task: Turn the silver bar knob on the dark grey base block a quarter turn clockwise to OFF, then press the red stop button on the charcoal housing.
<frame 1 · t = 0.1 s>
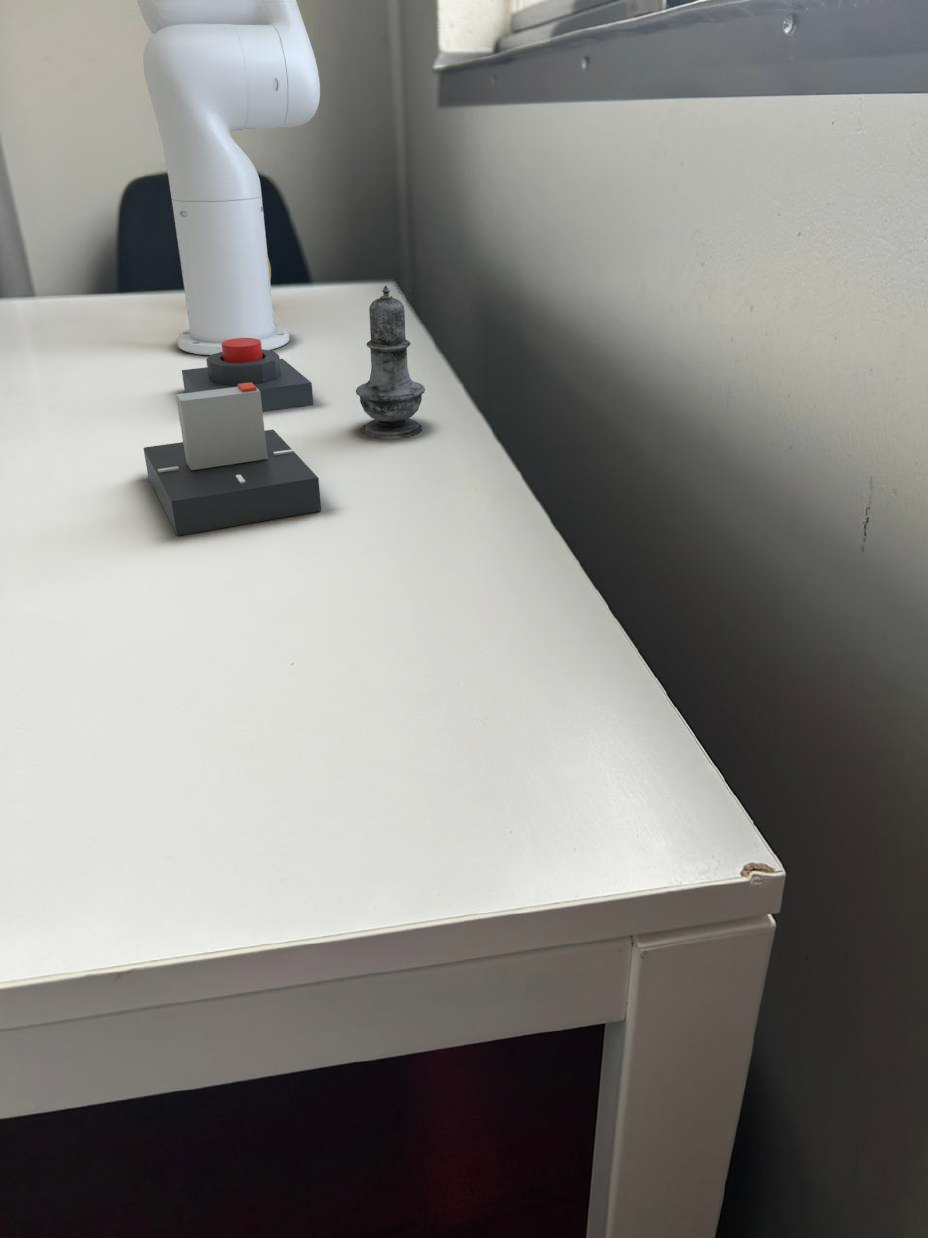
stress ball: (237, 310, 132), on the table
timer knob: (222, 425, 70), point 5 cm above the table, hinge at 90.0°
salt shaker: (392, 432, 85), on the table
stop button: (242, 351, 92), point 4 cm above the table, slide at 0.1 cm
stop housing: (247, 398, 94), on the table
dark grey base block: (231, 494, 72), on the table
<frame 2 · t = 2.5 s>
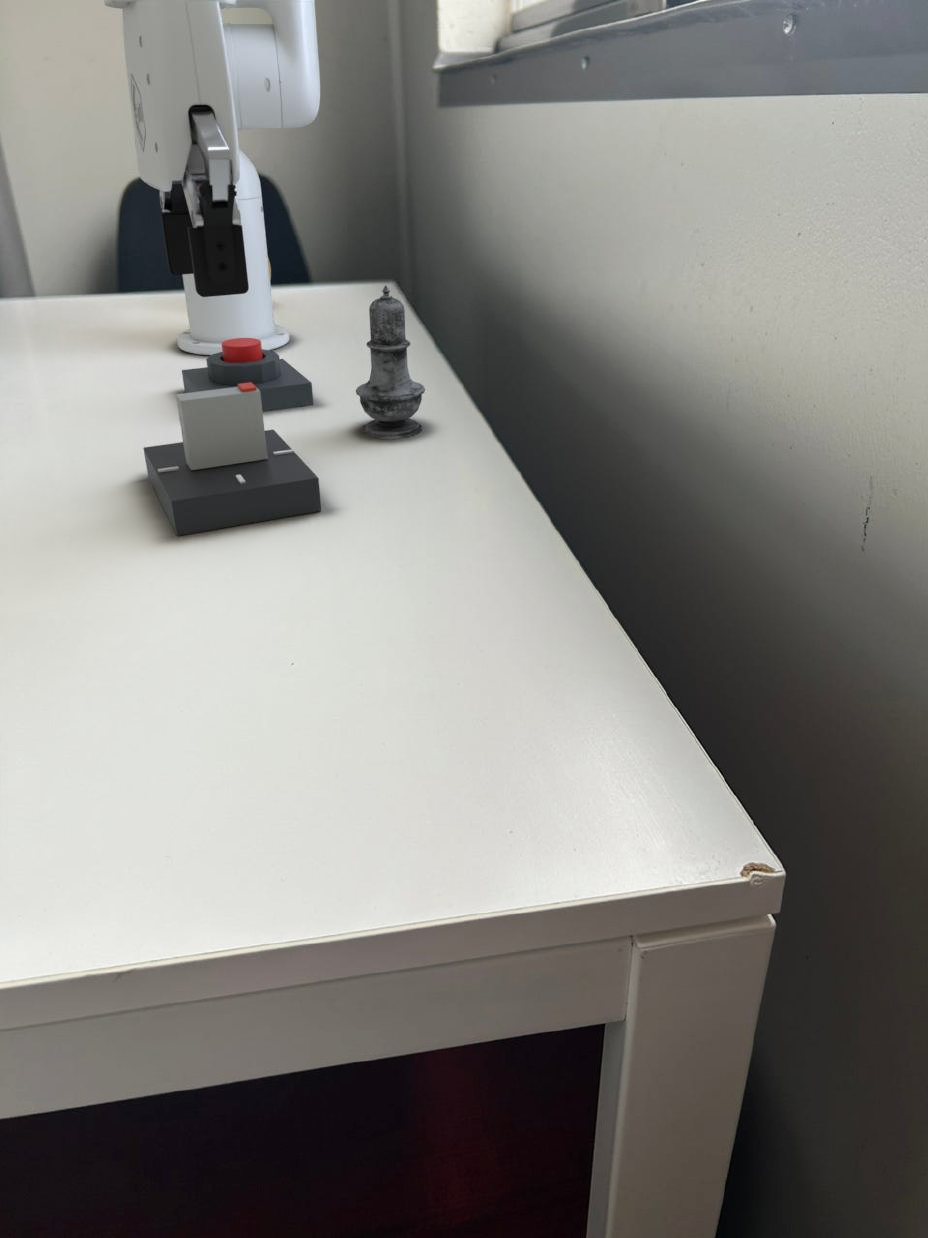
hand: (207, 282, 66), 15 cm above the table, tool pointing down, fingers open, 9 cm apart
nothing on the table moved.
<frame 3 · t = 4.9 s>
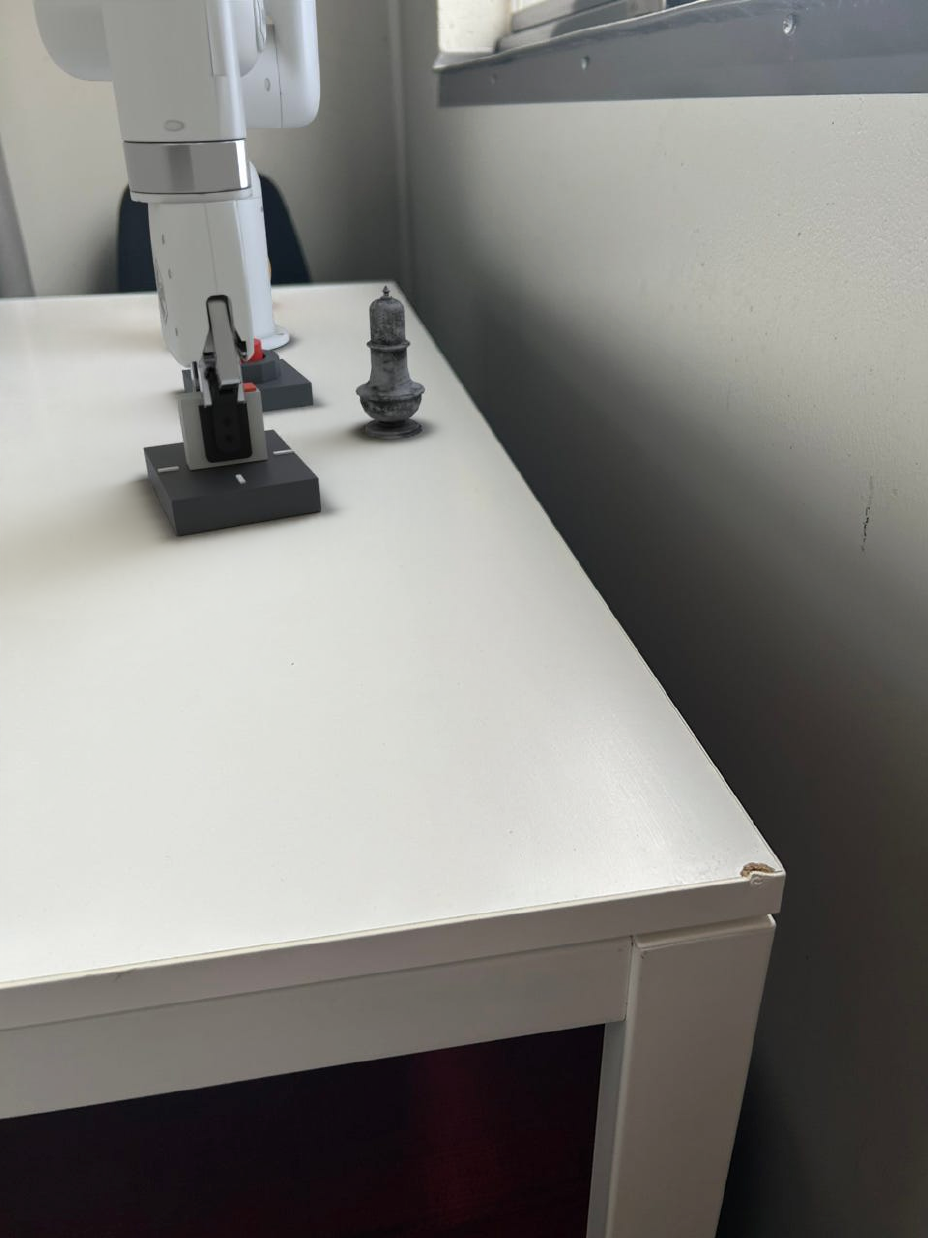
hand: (226, 451, 71), 3 cm above the table, tool pointing down, fingers closed on timer knob, 2 cm apart
timer knob: (222, 425, 70), point 5 cm above the table, hinge at 88.3°, touching gripper
everything else where it was.
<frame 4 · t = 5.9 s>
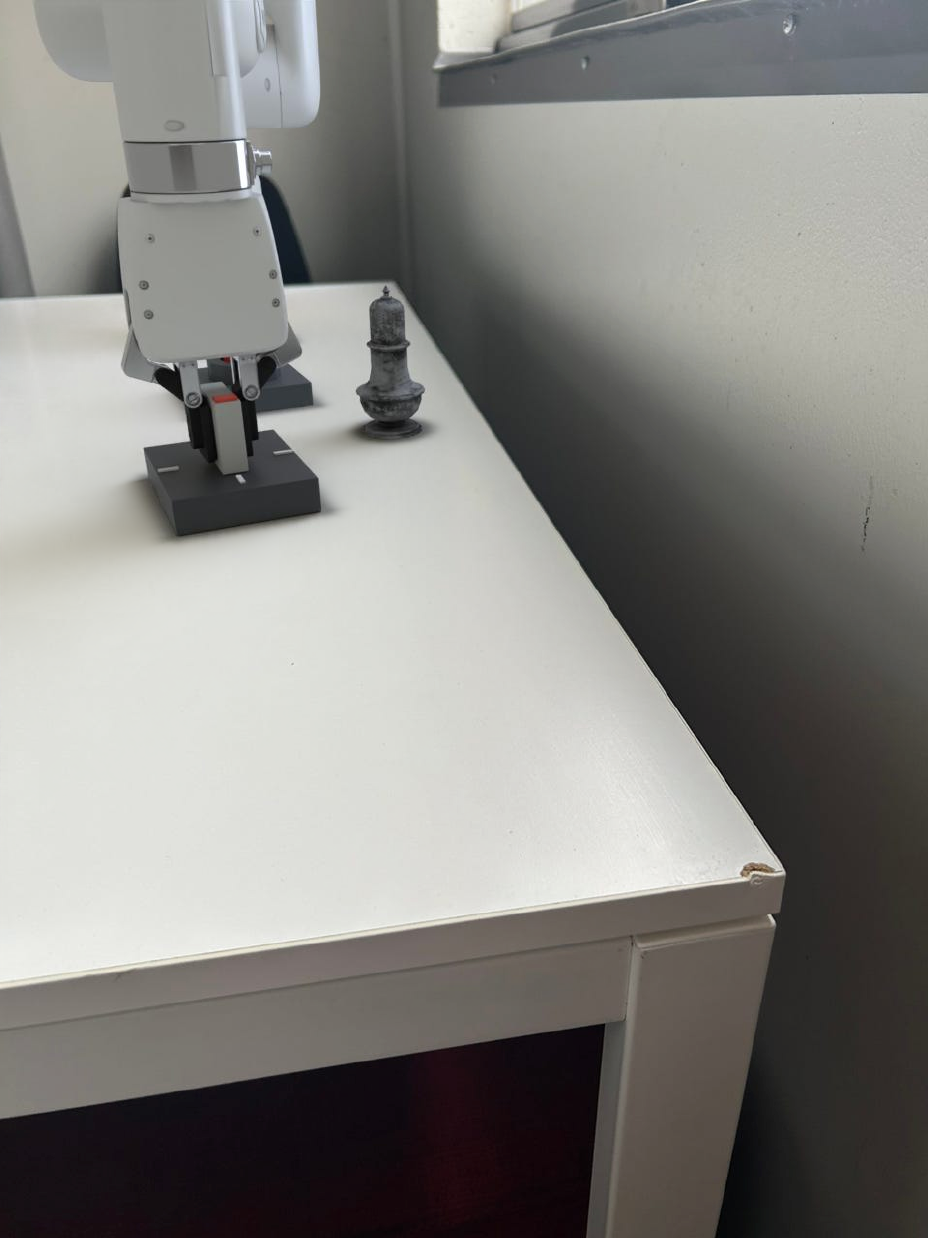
hand: (226, 452, 71), 3 cm above the table, tool pointing down, fingers closed on timer knob, 2 cm apart
timer knob: (222, 425, 70), point 5 cm above the table, hinge at 0.6°, touching gripper
everything else where it was.
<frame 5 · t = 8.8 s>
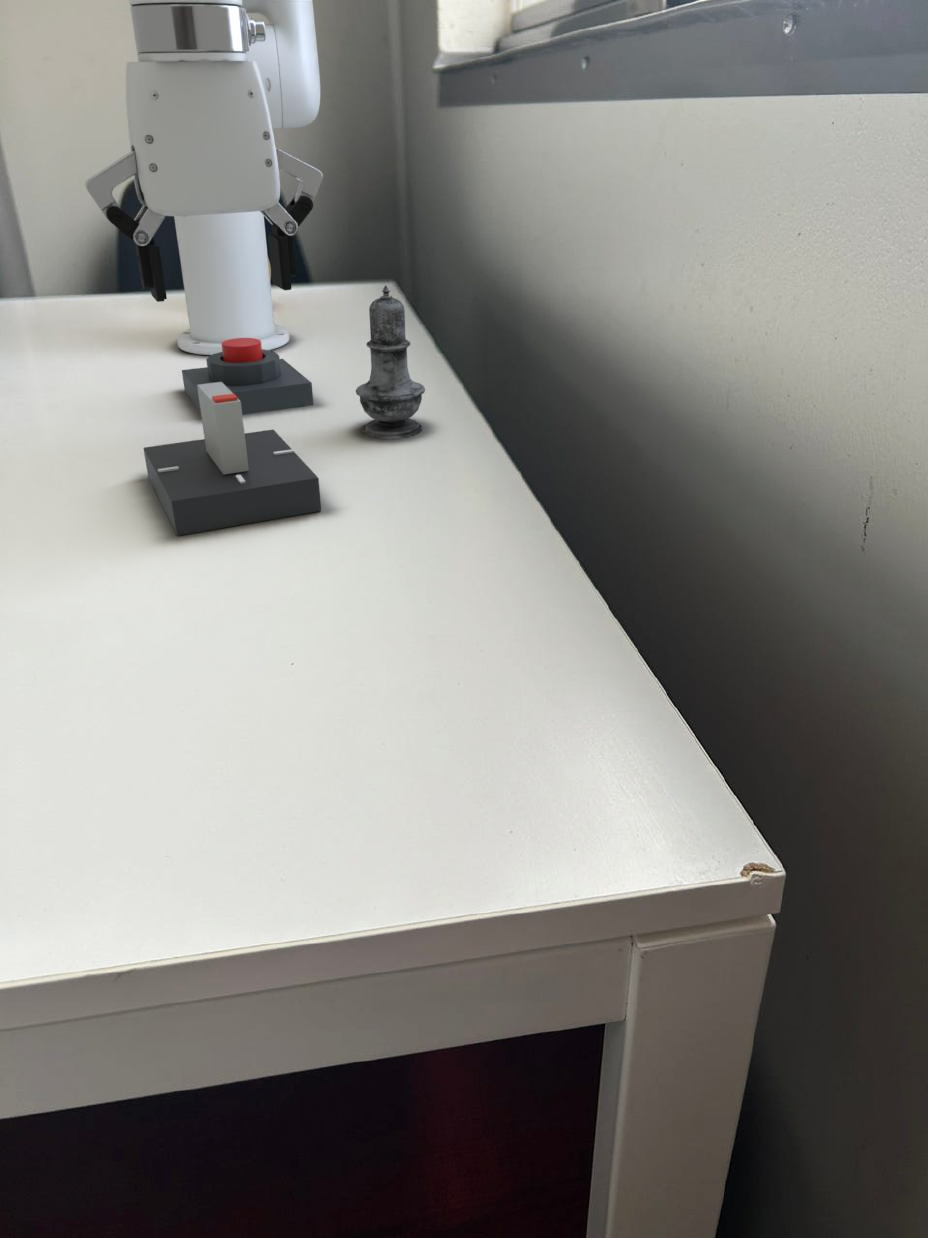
hand: (222, 292, 77), 12 cm above the table, tool pointing down, fingers open, 9 cm apart
timer knob: (222, 425, 70), point 5 cm above the table, hinge at 0.8°
everything else where it was.
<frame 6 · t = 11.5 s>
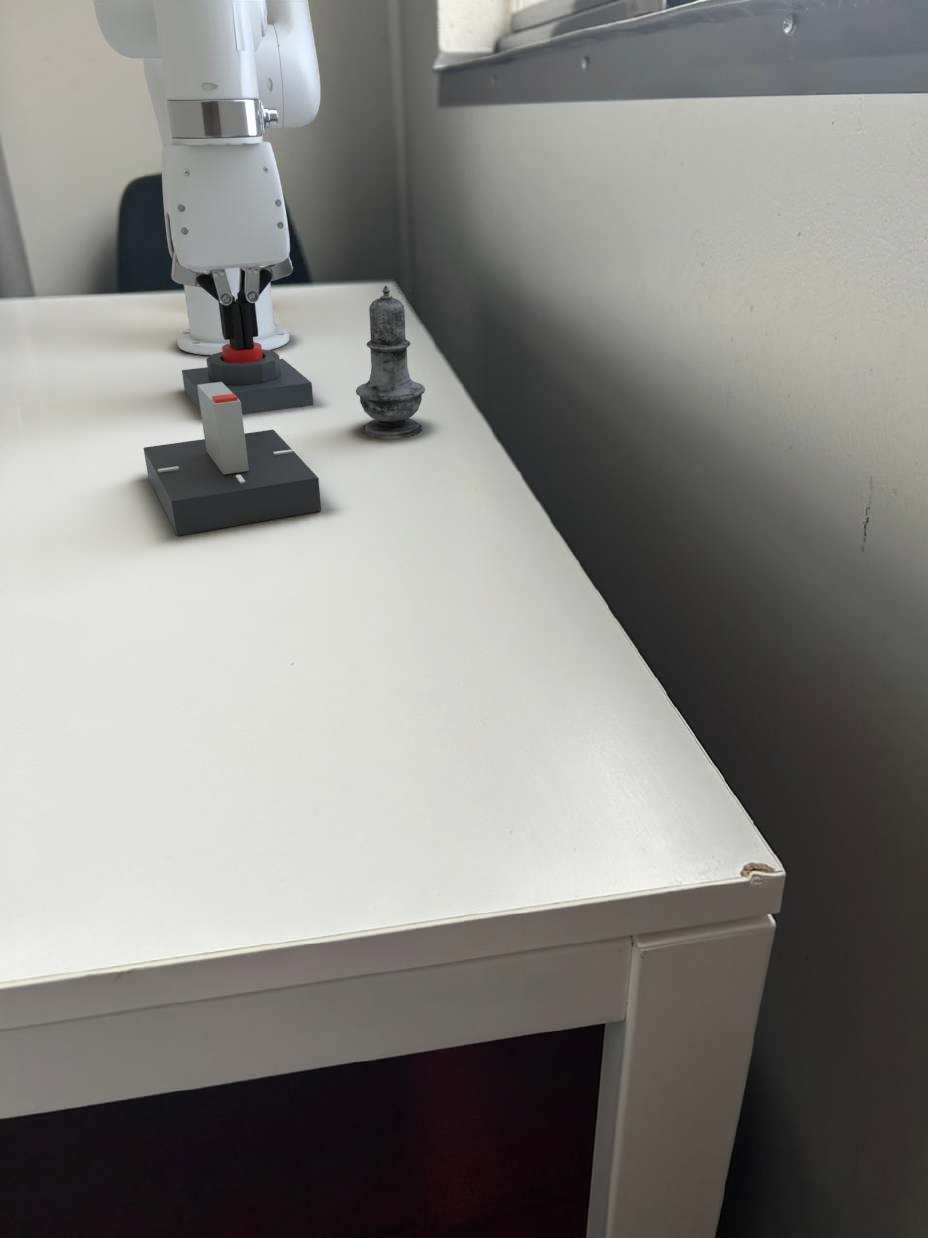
hand: (241, 345, 91), 5 cm above the table, tool pointing down, fingers closed
stop button: (242, 355, 92), point 4 cm above the table, slide at -0.2 cm, touching gripper
everything else where it was.
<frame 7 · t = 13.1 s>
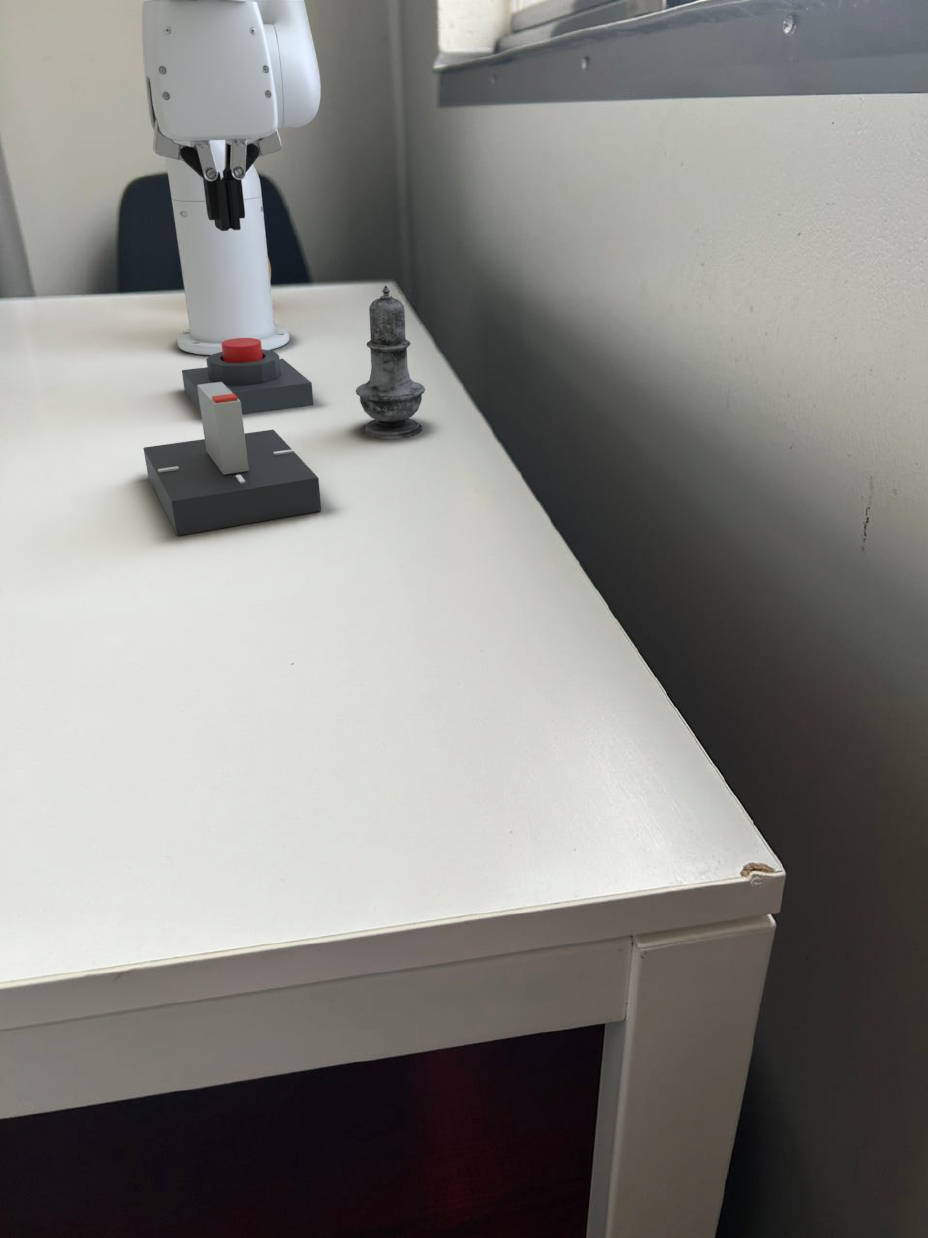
hand: (227, 227, 87), 15 cm above the table, tool pointing down, fingers closed
stop button: (242, 351, 92), point 4 cm above the table, slide at 0.1 cm
everything else where it was.
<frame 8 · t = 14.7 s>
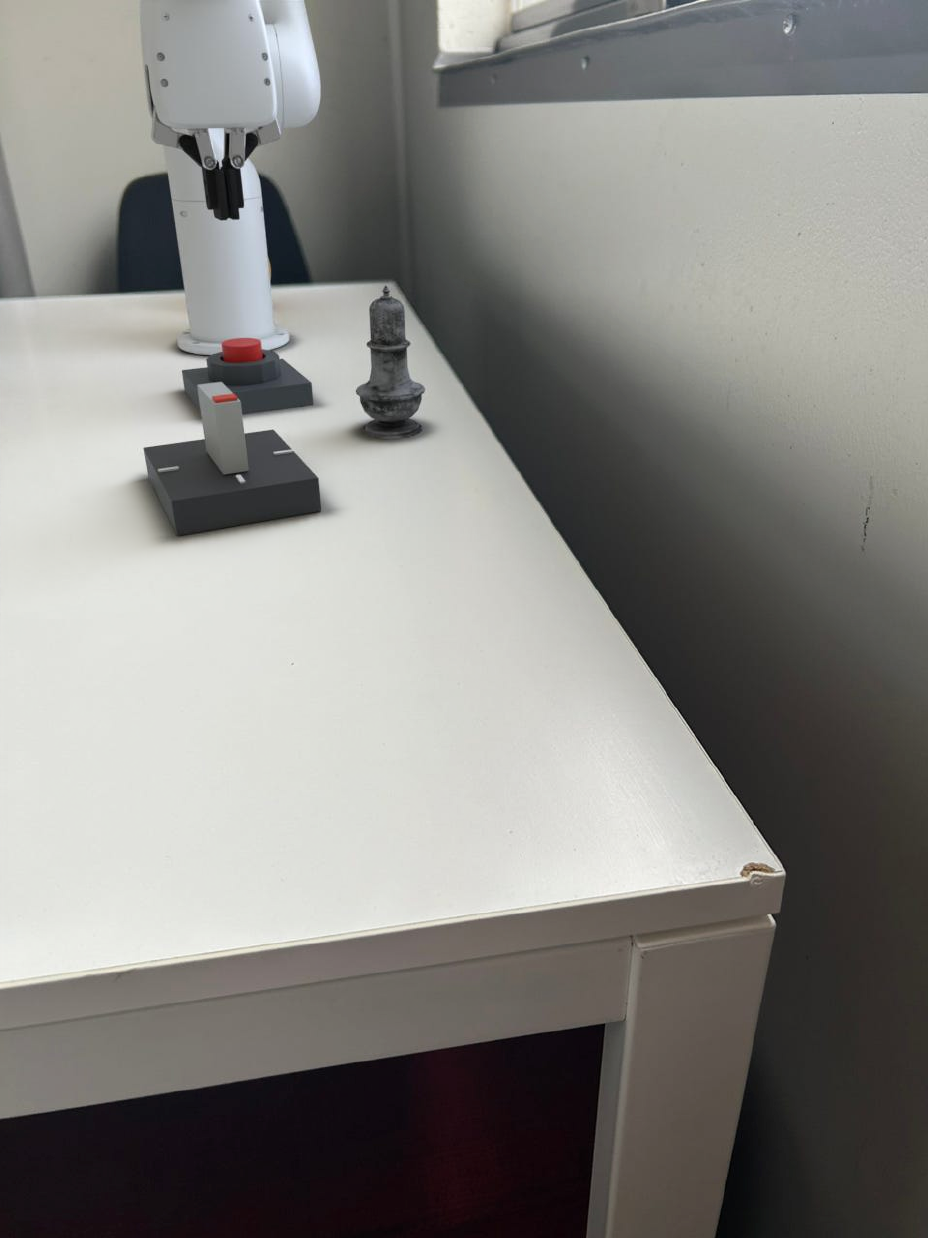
hand: (226, 217, 86), 16 cm above the table, tool pointing down, fingers closed
nothing on the table moved.
at the end: timer knob at +1° (first picture: +90°); stop button pushed in 1.1 cm at the most during the clip, back to where it started at the end; stop button slide at 0.1 cm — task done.
